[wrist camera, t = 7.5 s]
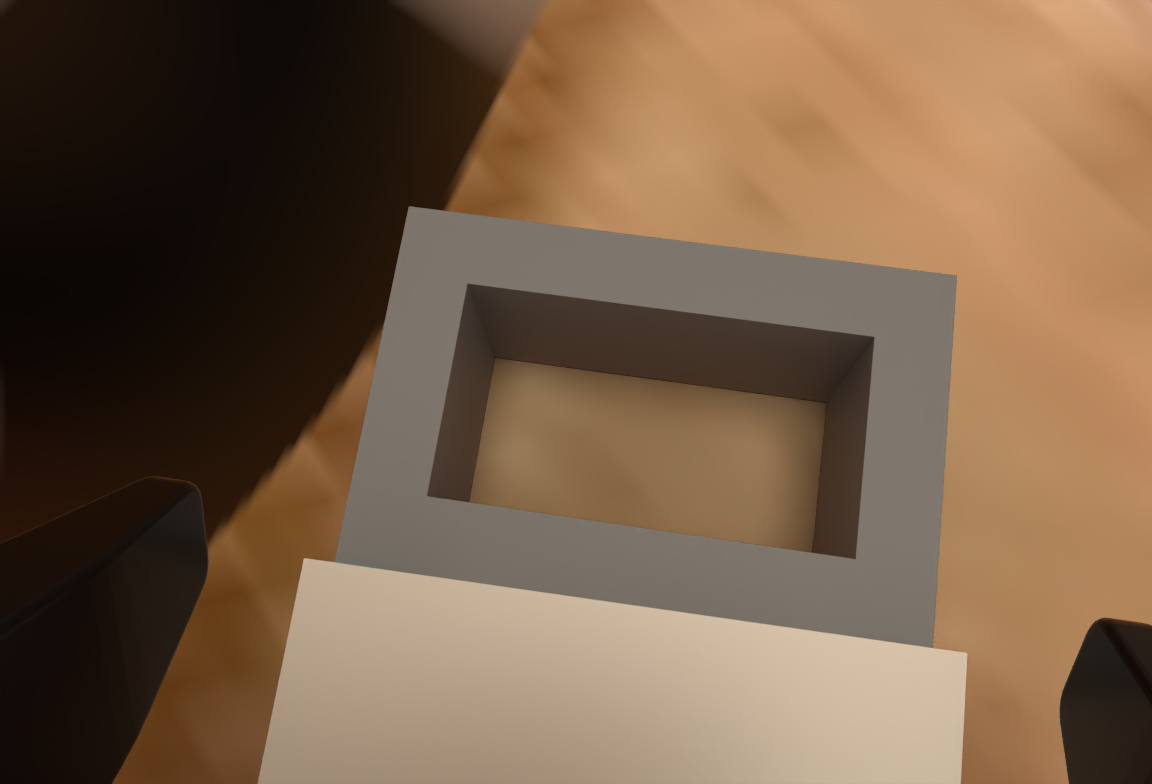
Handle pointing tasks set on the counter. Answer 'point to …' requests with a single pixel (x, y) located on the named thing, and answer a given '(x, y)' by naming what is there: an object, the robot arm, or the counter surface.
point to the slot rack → (672, 353)
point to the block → (591, 693)
